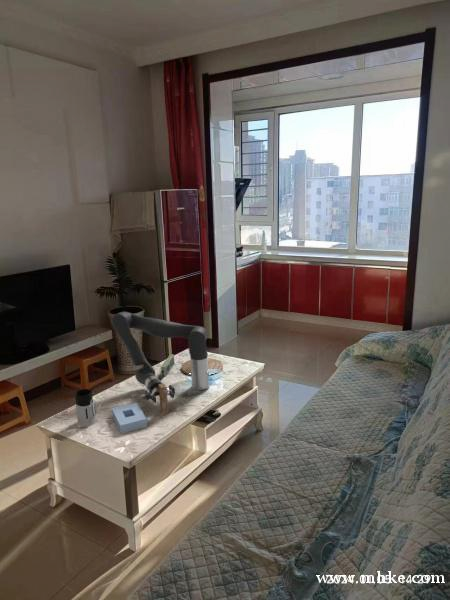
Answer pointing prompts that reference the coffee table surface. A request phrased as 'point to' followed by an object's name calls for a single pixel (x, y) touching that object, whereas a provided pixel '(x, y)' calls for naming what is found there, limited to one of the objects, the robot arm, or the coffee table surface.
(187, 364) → the trivet
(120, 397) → the coffee table surface
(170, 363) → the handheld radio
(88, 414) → the white travel mug
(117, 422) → the end cap
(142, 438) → the coffee table surface
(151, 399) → the robot arm
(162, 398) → the slat
